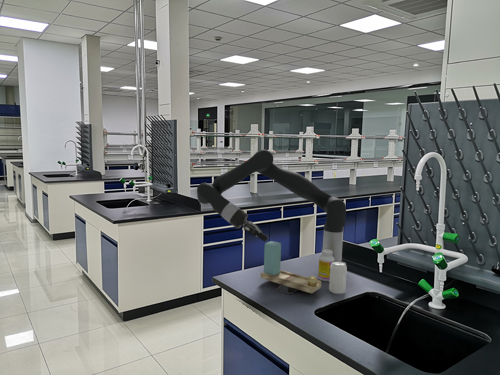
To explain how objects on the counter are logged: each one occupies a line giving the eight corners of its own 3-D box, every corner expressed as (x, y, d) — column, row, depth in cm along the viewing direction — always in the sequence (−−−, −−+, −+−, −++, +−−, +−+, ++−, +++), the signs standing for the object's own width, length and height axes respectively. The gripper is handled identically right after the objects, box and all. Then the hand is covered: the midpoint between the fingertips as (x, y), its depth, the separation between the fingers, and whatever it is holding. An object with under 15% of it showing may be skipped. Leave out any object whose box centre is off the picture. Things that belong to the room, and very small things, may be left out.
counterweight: (305, 285, 142) (306, 277, 142) (310, 282, 145) (310, 275, 145) (314, 287, 140) (314, 280, 140) (318, 284, 143) (318, 277, 143)
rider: (263, 273, 153) (264, 243, 152) (270, 269, 157) (271, 241, 156) (273, 276, 150) (274, 245, 149) (280, 272, 154) (281, 243, 153)
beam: (260, 278, 153) (260, 272, 152) (271, 272, 159) (271, 267, 159) (311, 293, 138) (312, 287, 138) (321, 287, 145) (321, 281, 144)
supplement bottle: (329, 283, 155) (331, 254, 153) (315, 279, 159) (316, 251, 157) (335, 278, 160) (337, 250, 159) (322, 274, 164) (323, 247, 163)
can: (327, 292, 146) (328, 263, 144) (331, 286, 151) (333, 259, 150) (343, 296, 143) (345, 266, 141) (347, 290, 148) (348, 262, 147)
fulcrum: (275, 289, 147) (275, 284, 146) (289, 281, 155) (289, 276, 155) (290, 294, 143) (290, 288, 142) (303, 286, 151) (304, 280, 151)
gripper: (234, 208, 147) (268, 233, 143) (243, 208, 160) (275, 231, 156) (224, 223, 148) (258, 248, 144) (234, 222, 161) (265, 245, 156)
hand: (266, 239), depth 150 cm, fingers closed
